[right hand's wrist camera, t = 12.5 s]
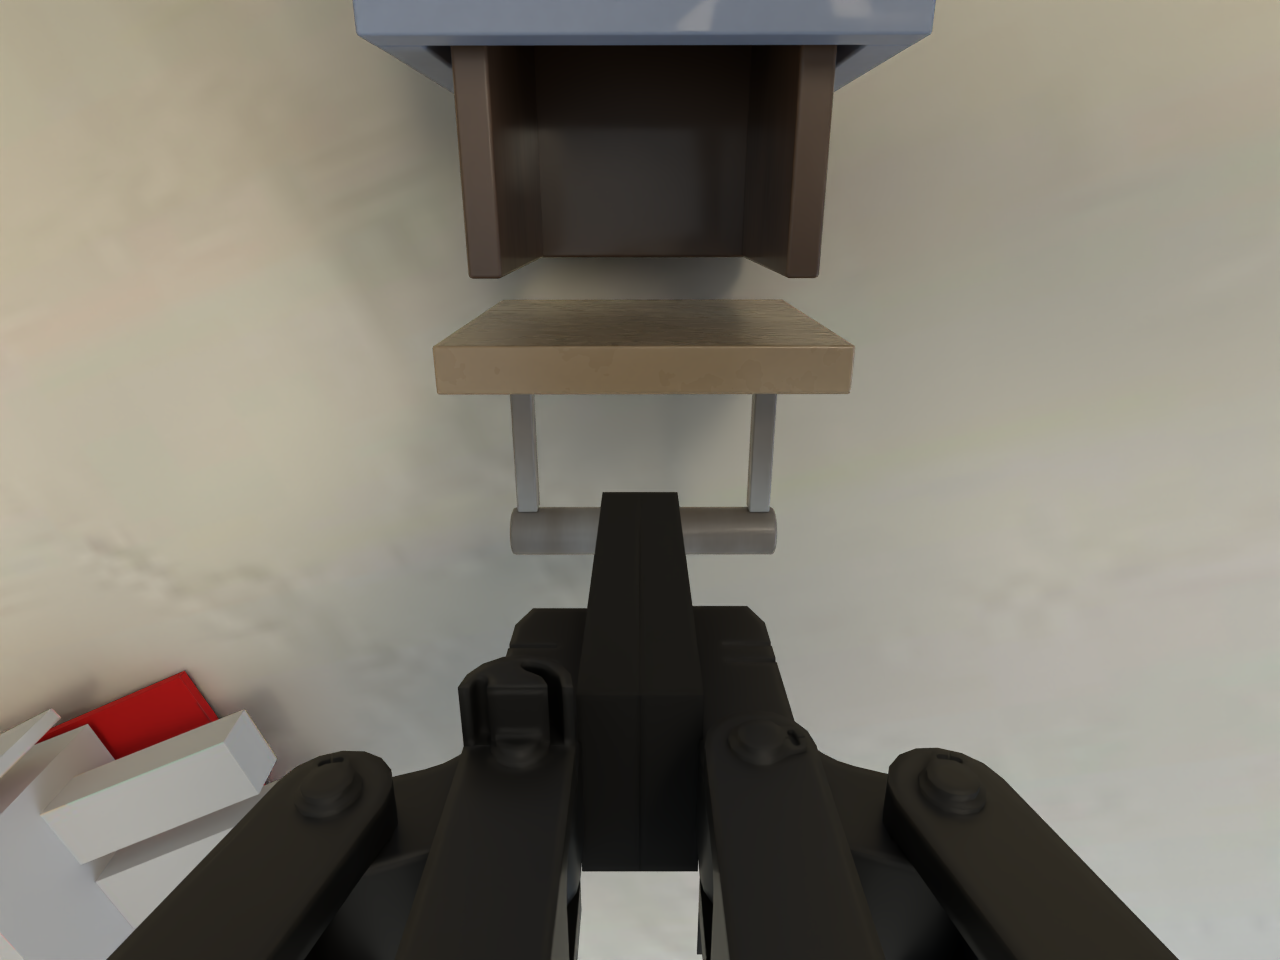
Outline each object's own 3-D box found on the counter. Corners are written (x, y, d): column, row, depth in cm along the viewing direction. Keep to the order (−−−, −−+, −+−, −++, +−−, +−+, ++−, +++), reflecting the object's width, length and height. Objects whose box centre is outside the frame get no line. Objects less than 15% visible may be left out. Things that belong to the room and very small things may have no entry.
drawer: (771, 474, 29) (831, 593, 20) (513, 474, 29) (456, 593, 20) (823, -327, 21) (964, -737, 12) (461, -326, 21) (323, -736, 12)
